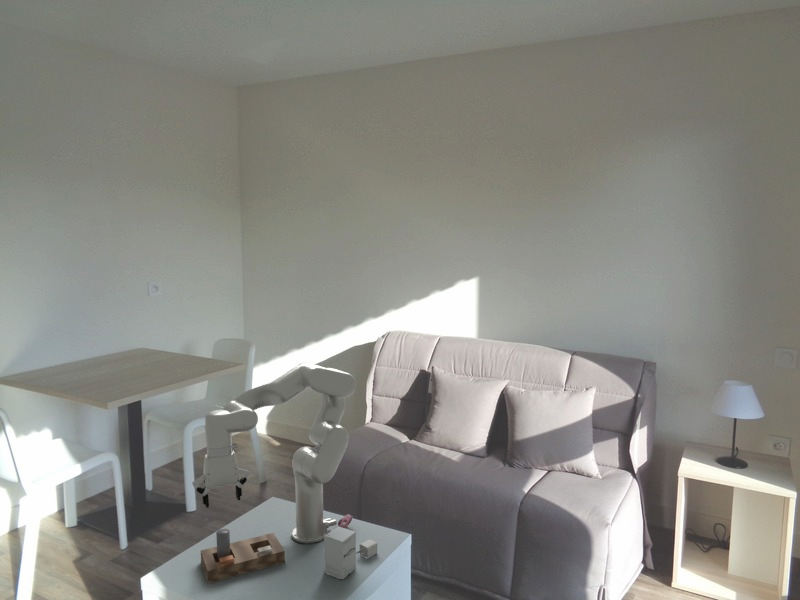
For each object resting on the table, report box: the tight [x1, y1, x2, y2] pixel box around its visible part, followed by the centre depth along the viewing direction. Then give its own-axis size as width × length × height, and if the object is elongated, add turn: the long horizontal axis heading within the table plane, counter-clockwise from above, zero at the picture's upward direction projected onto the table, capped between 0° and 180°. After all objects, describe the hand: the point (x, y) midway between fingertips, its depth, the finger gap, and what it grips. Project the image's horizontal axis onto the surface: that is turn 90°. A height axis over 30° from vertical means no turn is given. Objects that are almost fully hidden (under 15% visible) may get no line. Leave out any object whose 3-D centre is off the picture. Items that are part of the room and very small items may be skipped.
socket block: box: [200, 532, 286, 584], centre depth 188 cm, size 24×13×6 cm, turn 118°
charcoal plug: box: [215, 528, 231, 562], centre depth 185 cm, size 4×4×12 cm
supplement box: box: [323, 525, 357, 580], centre depth 183 cm, size 7×7×13 cm
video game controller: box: [337, 513, 354, 530], centre depth 207 cm, size 10×5×7 cm, turn 171°
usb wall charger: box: [356, 538, 378, 559], centre depth 192 cm, size 4×7×4 cm, turn 137°
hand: (222, 502), depth 184 cm, fingers open, 9 cm apart
